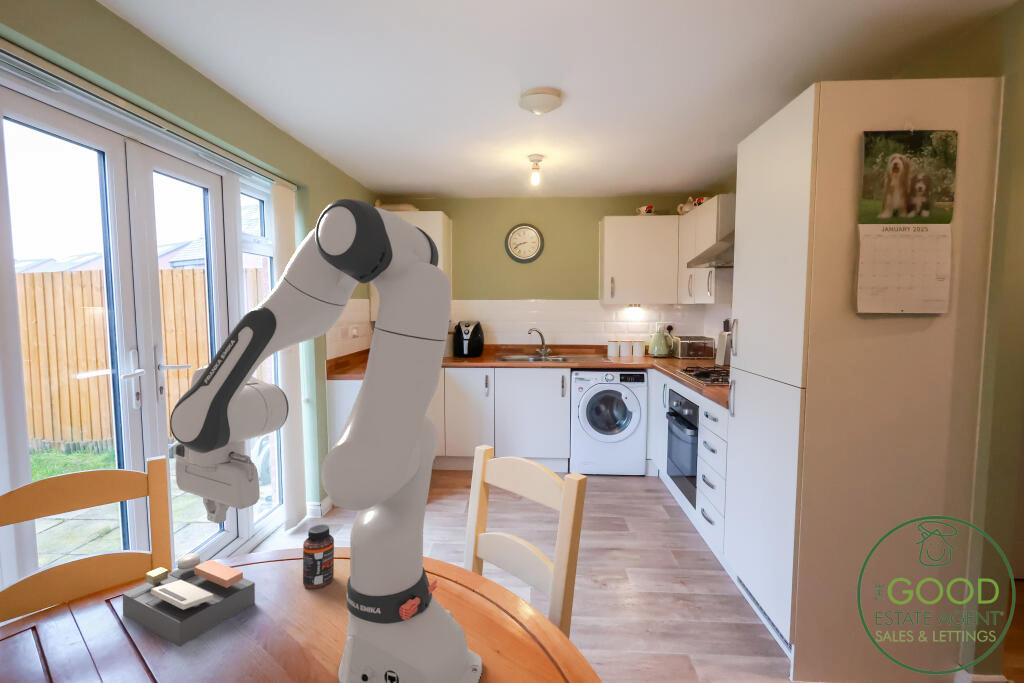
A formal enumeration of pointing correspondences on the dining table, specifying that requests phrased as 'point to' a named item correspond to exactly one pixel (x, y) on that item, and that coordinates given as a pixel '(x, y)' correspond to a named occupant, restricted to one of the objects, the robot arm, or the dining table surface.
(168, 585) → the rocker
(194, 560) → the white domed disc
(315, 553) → the supplement bottle
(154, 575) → the slider knob
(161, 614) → the panel
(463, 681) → the robot arm
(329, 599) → the dining table surface
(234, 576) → the terracotta button
